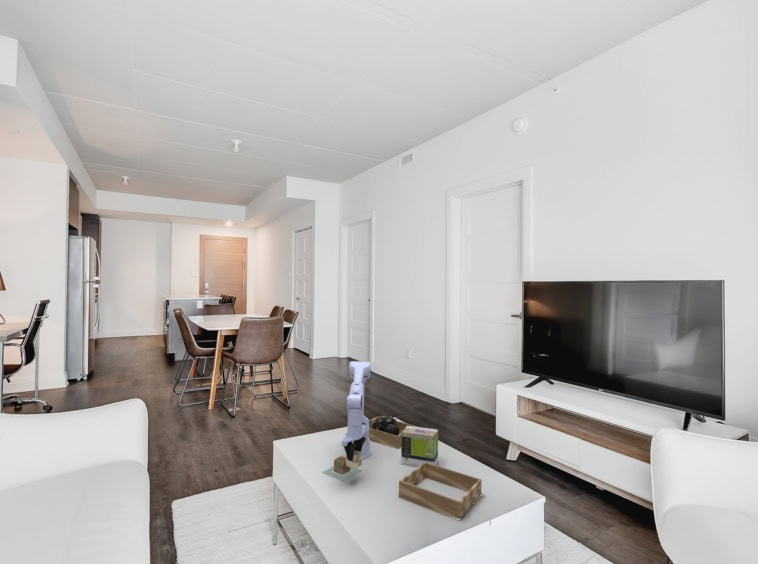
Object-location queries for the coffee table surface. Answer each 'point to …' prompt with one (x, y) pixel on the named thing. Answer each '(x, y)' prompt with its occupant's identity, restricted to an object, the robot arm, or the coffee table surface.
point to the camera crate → (387, 434)
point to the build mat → (339, 476)
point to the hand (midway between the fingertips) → (353, 457)
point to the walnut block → (341, 465)
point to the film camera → (386, 425)
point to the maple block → (355, 460)
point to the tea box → (419, 446)
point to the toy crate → (436, 500)
